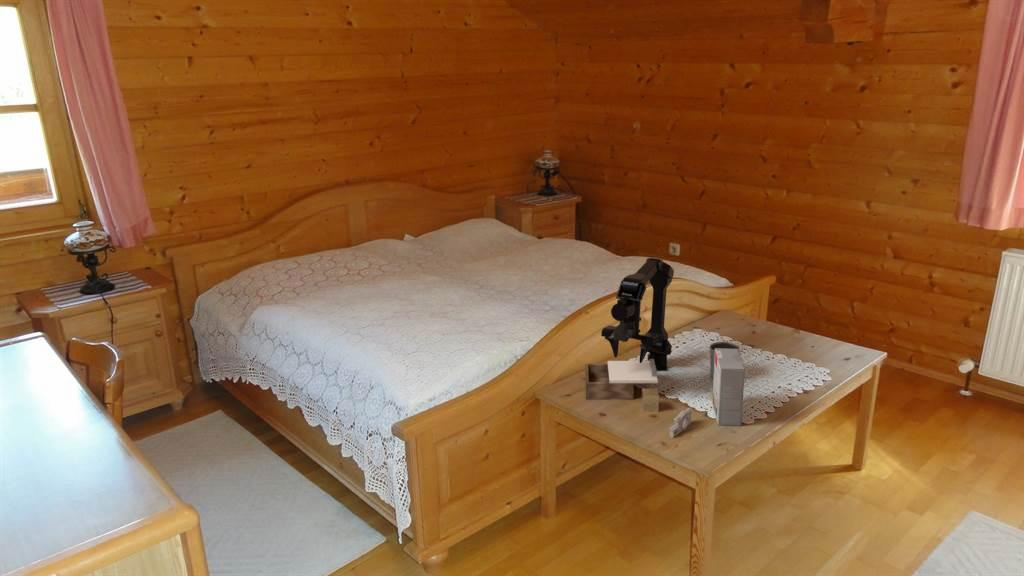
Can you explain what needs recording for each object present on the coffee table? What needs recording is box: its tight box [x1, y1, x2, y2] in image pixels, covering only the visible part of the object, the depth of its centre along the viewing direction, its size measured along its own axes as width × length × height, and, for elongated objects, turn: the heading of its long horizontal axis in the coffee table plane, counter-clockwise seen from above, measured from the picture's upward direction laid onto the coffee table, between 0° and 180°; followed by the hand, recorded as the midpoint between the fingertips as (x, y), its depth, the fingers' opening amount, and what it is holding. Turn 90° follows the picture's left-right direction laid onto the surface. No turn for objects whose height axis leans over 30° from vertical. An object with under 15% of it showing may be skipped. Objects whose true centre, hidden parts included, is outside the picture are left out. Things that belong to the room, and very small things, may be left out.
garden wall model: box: [668, 407, 693, 438], centre depth 221 cm, size 12×2×6 cm, turn 139°
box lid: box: [607, 359, 659, 384], centre depth 247 cm, size 16×16×3 cm
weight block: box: [641, 388, 660, 413], centre depth 235 cm, size 5×5×6 cm
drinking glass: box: [709, 341, 740, 381], centre depth 253 cm, size 10×10×12 cm
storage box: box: [584, 363, 635, 401], centre depth 249 cm, size 16×16×6 cm
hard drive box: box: [712, 348, 746, 427], centre depth 227 cm, size 16×8×20 cm, turn 171°
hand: (628, 360), depth 239 cm, fingers open, 9 cm apart
